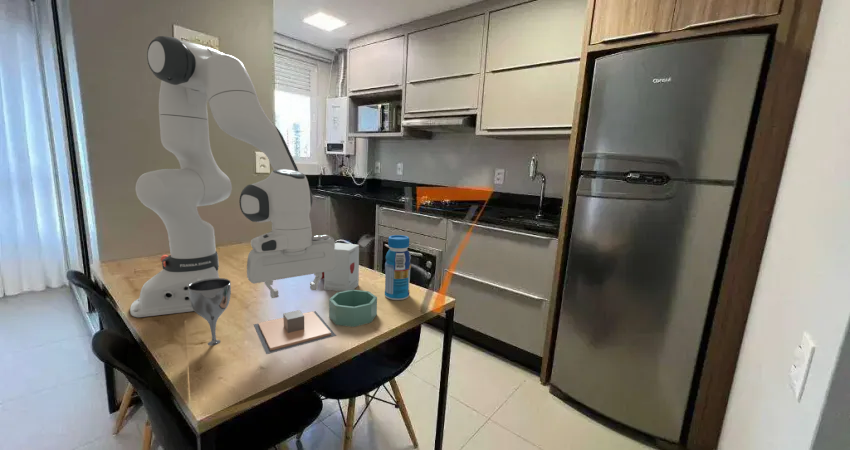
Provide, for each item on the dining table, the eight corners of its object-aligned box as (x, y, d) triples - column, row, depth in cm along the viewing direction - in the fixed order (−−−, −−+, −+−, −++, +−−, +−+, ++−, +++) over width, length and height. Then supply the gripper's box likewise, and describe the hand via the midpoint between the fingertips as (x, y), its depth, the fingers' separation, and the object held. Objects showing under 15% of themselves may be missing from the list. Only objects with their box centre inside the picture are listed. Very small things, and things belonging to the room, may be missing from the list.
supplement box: (348, 294, 112) (349, 250, 109) (323, 291, 113) (323, 248, 111) (359, 285, 121) (359, 244, 118) (335, 282, 122) (335, 242, 120)
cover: (270, 350, 76) (269, 333, 75) (258, 325, 87) (257, 310, 87) (331, 334, 84) (330, 319, 84) (313, 313, 95) (312, 299, 95)
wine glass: (205, 337, 82) (201, 277, 79) (240, 337, 83) (236, 278, 80) (185, 355, 74) (180, 290, 72) (223, 355, 75) (219, 290, 72)
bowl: (341, 332, 87) (341, 311, 86) (324, 314, 97) (324, 294, 95) (382, 322, 94) (383, 301, 93) (363, 306, 103) (363, 287, 102)
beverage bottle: (379, 297, 111) (380, 237, 107) (392, 289, 118) (394, 233, 114) (401, 303, 107) (404, 241, 103) (414, 294, 115) (416, 236, 111)
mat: (266, 357, 75) (266, 354, 75) (253, 327, 88) (253, 324, 88) (336, 338, 84) (336, 335, 84) (315, 313, 97) (315, 311, 97)
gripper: (330, 232, 90) (331, 281, 92) (243, 240, 78) (247, 297, 81) (339, 236, 85) (340, 289, 87) (247, 246, 73) (252, 306, 76)
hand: (295, 293), depth 84 cm, fingers open, 8 cm apart
